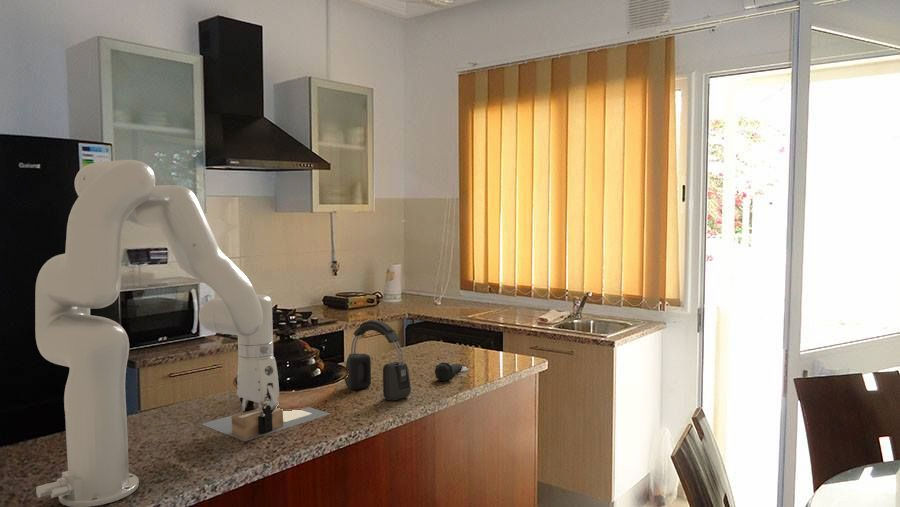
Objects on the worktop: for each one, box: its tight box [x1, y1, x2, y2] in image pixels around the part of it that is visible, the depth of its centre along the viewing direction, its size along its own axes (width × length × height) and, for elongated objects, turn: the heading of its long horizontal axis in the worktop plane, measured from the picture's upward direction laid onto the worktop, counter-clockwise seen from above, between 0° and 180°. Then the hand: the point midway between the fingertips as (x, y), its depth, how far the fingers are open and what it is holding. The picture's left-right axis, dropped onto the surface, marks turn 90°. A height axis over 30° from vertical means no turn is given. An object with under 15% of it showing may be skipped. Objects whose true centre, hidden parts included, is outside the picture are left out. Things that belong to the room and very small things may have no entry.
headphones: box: [344, 319, 412, 401], centre depth 177 cm, size 22×6×20 cm, turn 47°
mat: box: [200, 405, 332, 442], centre depth 154 cm, size 24×18×1 cm
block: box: [231, 405, 283, 438], centre depth 146 cm, size 10×5×4 cm, turn 140°
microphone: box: [434, 362, 464, 382], centre depth 197 cm, size 6×6×20 cm
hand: (258, 428), depth 147 cm, fingers open, 5 cm apart
